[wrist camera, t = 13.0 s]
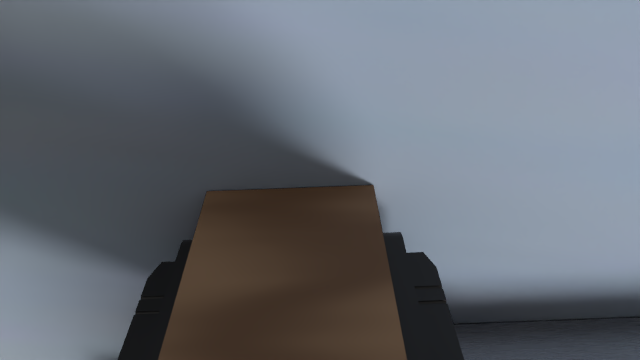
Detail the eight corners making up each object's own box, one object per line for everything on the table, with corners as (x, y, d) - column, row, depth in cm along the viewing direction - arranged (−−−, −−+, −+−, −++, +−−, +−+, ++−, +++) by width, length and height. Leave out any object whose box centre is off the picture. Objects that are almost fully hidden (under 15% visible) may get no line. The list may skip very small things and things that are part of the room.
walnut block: (373, 185, 11) (424, 450, 6) (368, 295, 13) (402, 550, 9) (206, 191, 11) (128, 461, 6) (230, 300, 13) (187, 558, 9)
